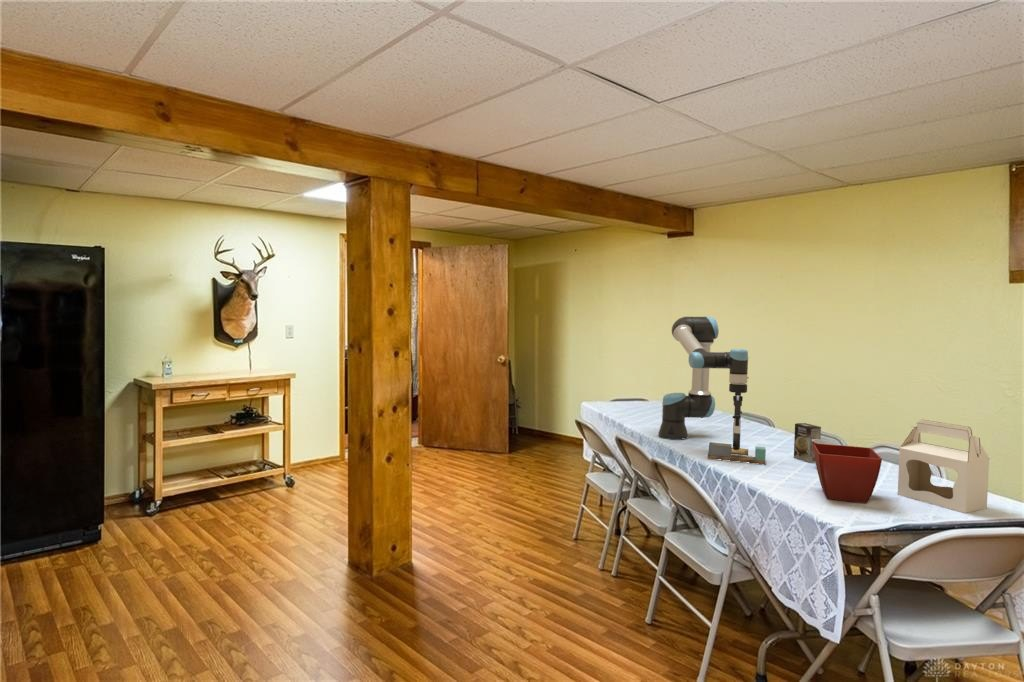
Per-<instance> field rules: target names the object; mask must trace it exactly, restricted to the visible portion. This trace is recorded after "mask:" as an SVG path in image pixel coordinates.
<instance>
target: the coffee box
mask: <svg viewBox="0 0 1024 682" xmlns="http://www.w3.org/2000/svg"><path fill="white" fill-rule="evenodd" d="M821 434H822V427H821V426H819V425H815V424H810V423H806V422H802V423H801V422H798V423H797V422H796V423H795V424H794V440H793V441H794V442H793V445H794V446H793V458H794V459H796V460H800V461H802V462H806V463H816V461H815V455H814V448H813V443H812V439H819V440H821Z"/></svg>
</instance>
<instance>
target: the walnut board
mask: <svg viewBox="0 0 1024 682" xmlns="http://www.w3.org/2000/svg"><path fill="white" fill-rule="evenodd" d="M706 457H707V458H708V459H707V460H713V459H721V460H720V461H723V460H730V461H729V462H733V461H740V462H739V463H743V462H749V463H748V464H752V463H759V464H758V465H762V464H765V465H766V460H765V461H761V460H755V456H750V455H748V456H745V455H735V454H731V457H721V456H711V455H709V451H708V452H707V456H706Z"/></svg>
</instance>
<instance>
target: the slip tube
mask: <svg viewBox="0 0 1024 682" xmlns="http://www.w3.org/2000/svg"><path fill="white" fill-rule="evenodd" d="M741 426H742V425H740V429H741ZM732 428H733V429H732V448H731V455H741V456H749V448H743V447H741V432H740V433H734V421H733V427H732Z"/></svg>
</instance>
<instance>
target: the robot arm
mask: <svg viewBox="0 0 1024 682" xmlns="http://www.w3.org/2000/svg"><path fill="white" fill-rule="evenodd" d="M671 335H672V338H673V339H675V341H677V342H678V343H680V345H681V346H682V347H683V349H684V350H685V352H686V353H687V354H688V365H689V366H690V368H692V371H691V372H692V375H691V389H690V390H689V391H688V395H686V394H685V392H672V393H667V394H665V395H663V398H662V404H661V405H662V410H661V411H662V414H661V417H662V418H661V419H662V420H661V421H662V422H661V424H660V428H659V430H658V437H659V436H660V438H662V437H663V438H662V439H666V438H670V439H669V440H675V439H681V440H683V439H682V438H687V437H688V435H689V433H688V430H687V426H686V421H685V420H686V418H687V419H688V418H689V419H691V418H692V419H693V418H694V419H695V418H700V419H705V418H710V417H712V415H713V414H714V412H715V409H716V400H715V397H714V396H713V395H712V392H711V391H710V390H709V385H710V384H709V383H710V369H727V370H728V369H729V373H728V375H729V378H728V381H729V385H728V386H729V388H728V389H729V390H728V391H729V392H730V393H734V395H733V397H732V400H733V406H734V412H733V413H734V415H732V419H733V422H734V433H740V434H741V428H740V425H741V423H742V422H741V417H742V415H743V411H742V410H741V407H742V405H743V401H744V400H743V399H744V398H743V396H742V394H745V393H747V392H748V384H747V383H748V379H749V378H750V377H749V376H748V370H749V369H748V367H749V365H748V364H749V350H747V349H744V348H743V349H742V348H741V349H740V348H732V349H730V351H724V352H723V351H722V352H721V351H720V352H719V351H718V352H717V351H716V352H715V351H714V352H712V351H711V346H712V345H713V344H714V343H715V340H716V339H718V337H719V325H718V322H717V321H716V318H714V317H711V316H682V317H679V318H678V319H677V320H676V321H674V322H673V324H672V326H671ZM741 426H742V425H741ZM687 439H688V438H687Z"/></svg>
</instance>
